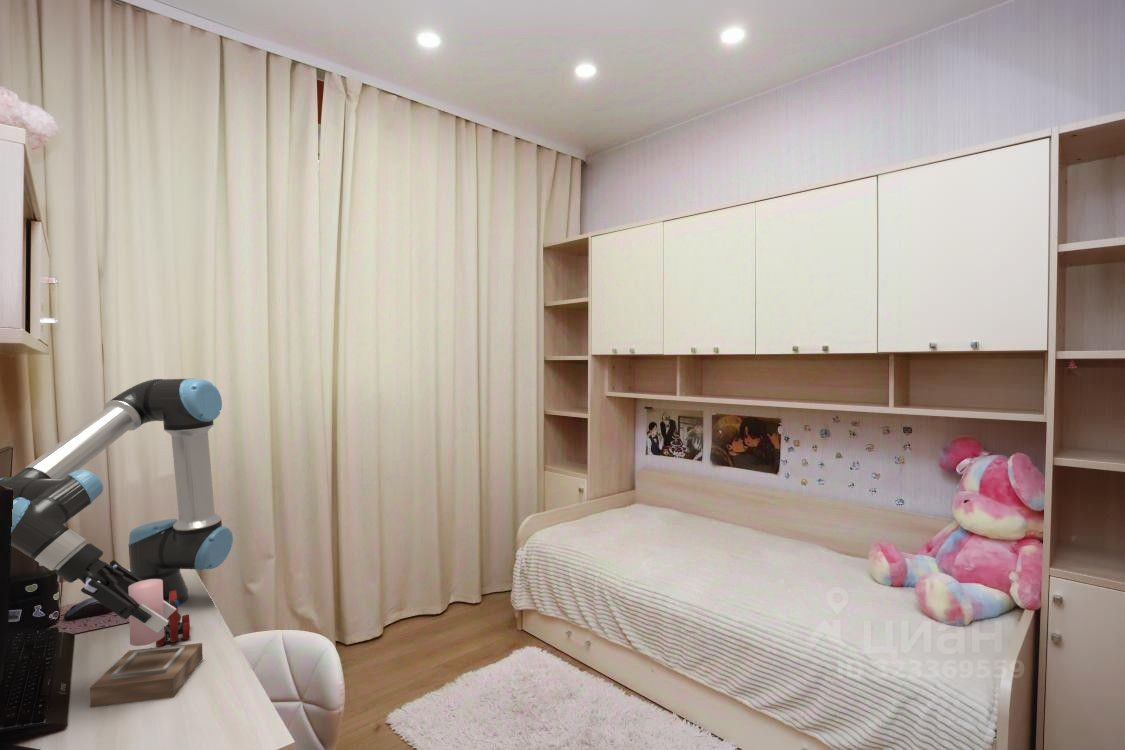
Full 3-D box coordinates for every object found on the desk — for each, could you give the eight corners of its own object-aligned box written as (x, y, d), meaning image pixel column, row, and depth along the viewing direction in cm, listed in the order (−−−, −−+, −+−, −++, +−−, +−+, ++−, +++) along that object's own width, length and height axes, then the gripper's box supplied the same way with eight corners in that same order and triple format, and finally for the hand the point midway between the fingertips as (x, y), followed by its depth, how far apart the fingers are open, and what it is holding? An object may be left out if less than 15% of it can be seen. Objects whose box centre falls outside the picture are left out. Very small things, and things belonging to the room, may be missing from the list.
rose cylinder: (138, 634, 127) (137, 580, 126) (169, 631, 128) (167, 577, 127) (124, 647, 121) (122, 590, 120) (156, 644, 122) (154, 588, 122)
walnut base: (129, 667, 131) (128, 646, 131) (202, 659, 134) (202, 639, 134) (90, 707, 116) (89, 683, 116) (173, 697, 119) (172, 674, 119)
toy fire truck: (156, 652, 138) (154, 609, 137) (157, 632, 148) (155, 592, 147) (190, 644, 141) (189, 602, 141) (189, 624, 152) (188, 585, 151)
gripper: (74, 556, 127) (164, 616, 133) (33, 588, 109) (139, 655, 116) (103, 530, 129) (190, 590, 135) (67, 556, 111) (170, 624, 118)
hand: (167, 620), depth 126 cm, fingers closed on rose cylinder, 6 cm apart
